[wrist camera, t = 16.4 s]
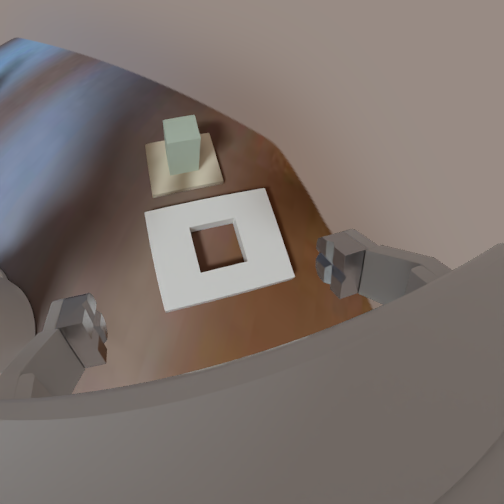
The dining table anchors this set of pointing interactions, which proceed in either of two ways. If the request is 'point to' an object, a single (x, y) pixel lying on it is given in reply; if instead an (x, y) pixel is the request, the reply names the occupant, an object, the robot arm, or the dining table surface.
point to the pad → (184, 181)
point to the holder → (226, 278)
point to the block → (182, 144)
